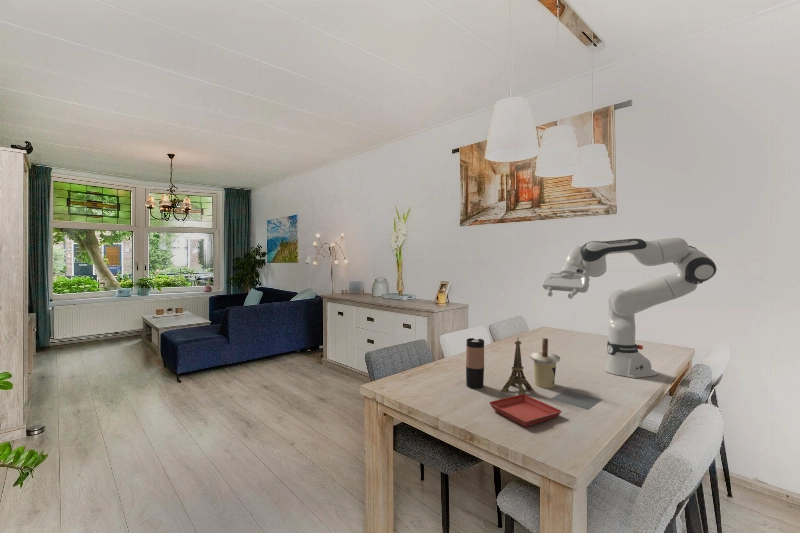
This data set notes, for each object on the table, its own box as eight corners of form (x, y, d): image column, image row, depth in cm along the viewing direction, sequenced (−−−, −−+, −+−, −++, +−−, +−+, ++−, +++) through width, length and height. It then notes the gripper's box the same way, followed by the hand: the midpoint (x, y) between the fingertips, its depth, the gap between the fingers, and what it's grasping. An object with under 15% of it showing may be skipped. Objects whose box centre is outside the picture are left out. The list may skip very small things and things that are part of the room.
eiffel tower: (524, 397, 151) (525, 335, 150) (499, 391, 158) (500, 331, 157) (534, 390, 159) (535, 331, 158) (510, 384, 166) (511, 327, 165)
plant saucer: (523, 401, 148) (523, 393, 148) (562, 419, 132) (563, 410, 132) (487, 410, 139) (487, 402, 139) (525, 431, 123) (525, 421, 123)
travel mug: (473, 390, 158) (473, 343, 157) (462, 384, 165) (462, 339, 164) (487, 387, 162) (488, 341, 161) (476, 381, 169) (476, 337, 168)
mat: (566, 390, 158) (566, 389, 158) (602, 400, 148) (602, 399, 148) (550, 399, 149) (550, 398, 149) (588, 410, 139) (588, 409, 139)
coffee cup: (558, 390, 158) (558, 362, 158) (534, 388, 160) (535, 360, 160) (553, 382, 167) (554, 356, 167) (531, 381, 169) (532, 354, 169)
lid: (550, 354, 170) (551, 335, 169) (565, 362, 158) (566, 341, 158) (525, 355, 168) (525, 336, 168) (538, 363, 157) (538, 342, 156)
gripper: (546, 268, 185) (535, 290, 179) (589, 270, 170) (580, 294, 164) (550, 277, 188) (540, 298, 182) (593, 280, 173) (584, 303, 167)
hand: (559, 296), depth 173 cm, fingers open, 8 cm apart
